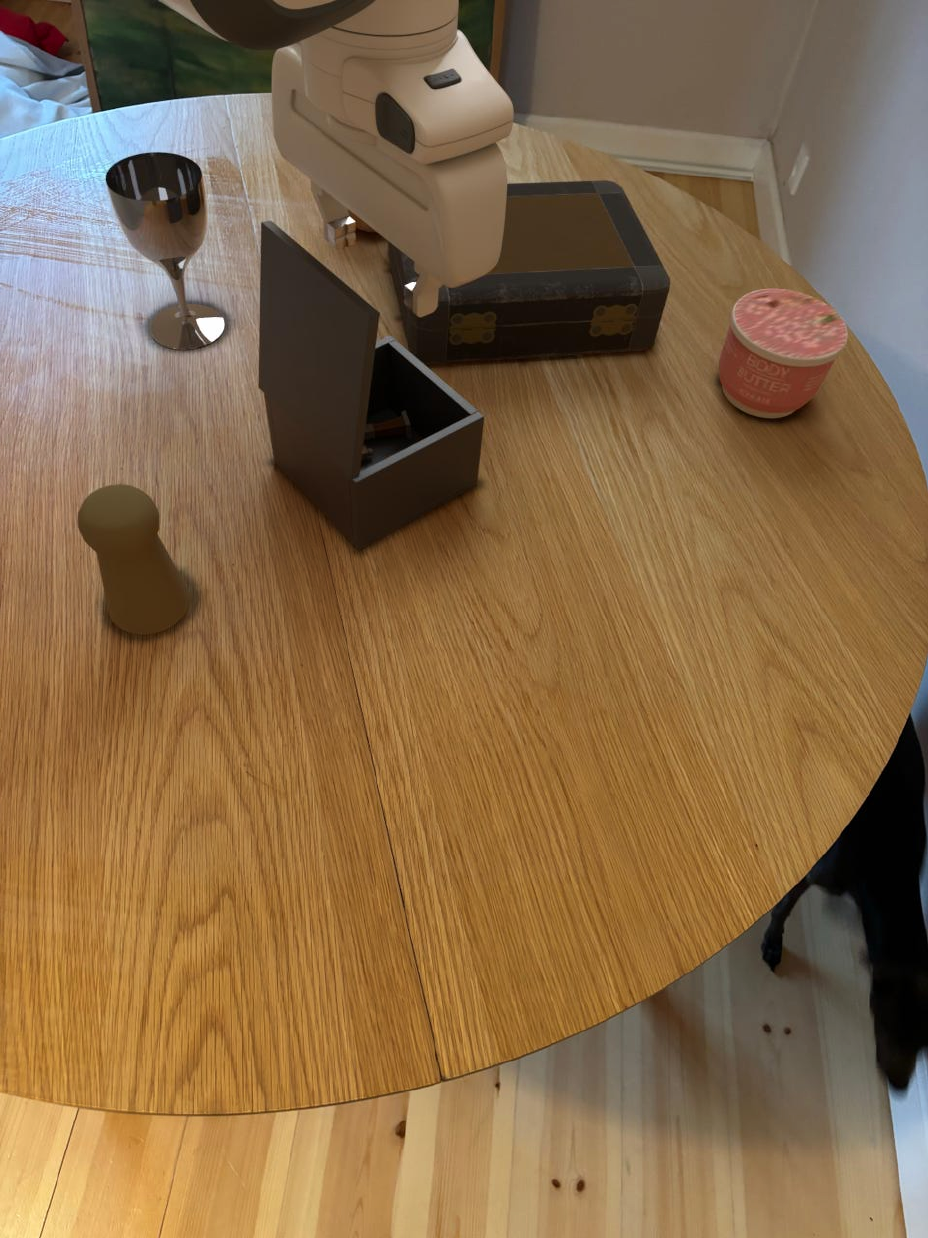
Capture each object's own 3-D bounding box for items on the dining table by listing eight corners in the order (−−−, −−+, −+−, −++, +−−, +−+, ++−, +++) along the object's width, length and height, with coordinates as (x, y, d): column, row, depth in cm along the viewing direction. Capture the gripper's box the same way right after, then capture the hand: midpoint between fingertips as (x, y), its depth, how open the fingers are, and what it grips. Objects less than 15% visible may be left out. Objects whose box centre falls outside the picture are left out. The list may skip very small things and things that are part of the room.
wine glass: (149, 357, 84) (108, 205, 72) (142, 306, 89) (102, 155, 77) (234, 346, 86) (207, 196, 74) (223, 297, 90) (196, 148, 78)
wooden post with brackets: (327, 477, 76) (317, 440, 79) (418, 459, 78) (405, 423, 80) (325, 462, 75) (315, 425, 77) (417, 444, 76) (404, 408, 78)
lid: (271, 219, 61) (260, 221, 61) (380, 312, 56) (370, 315, 55) (266, 385, 71) (258, 387, 70) (359, 477, 66) (350, 480, 65)
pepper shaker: (131, 648, 65) (90, 551, 56) (93, 595, 68) (48, 495, 59) (205, 608, 68) (176, 510, 59) (165, 559, 70) (132, 457, 61)
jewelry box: (604, 239, 101) (618, 172, 95) (658, 353, 90) (677, 285, 83) (385, 249, 97) (384, 179, 91) (411, 369, 86) (413, 299, 79)
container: (837, 410, 86) (873, 341, 80) (751, 440, 83) (782, 371, 76) (769, 347, 91) (797, 277, 85) (686, 373, 88) (709, 302, 82)
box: (390, 405, 83) (390, 334, 76) (477, 485, 77) (484, 416, 71) (273, 461, 77) (263, 390, 71) (358, 551, 72) (355, 483, 66)
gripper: (235, 4, 54) (260, 219, 65) (445, 149, 46) (433, 368, 57) (321, -14, 57) (331, 195, 68) (535, 119, 49) (506, 333, 60)
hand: (379, 275), depth 63 cm, fingers open, 8 cm apart
